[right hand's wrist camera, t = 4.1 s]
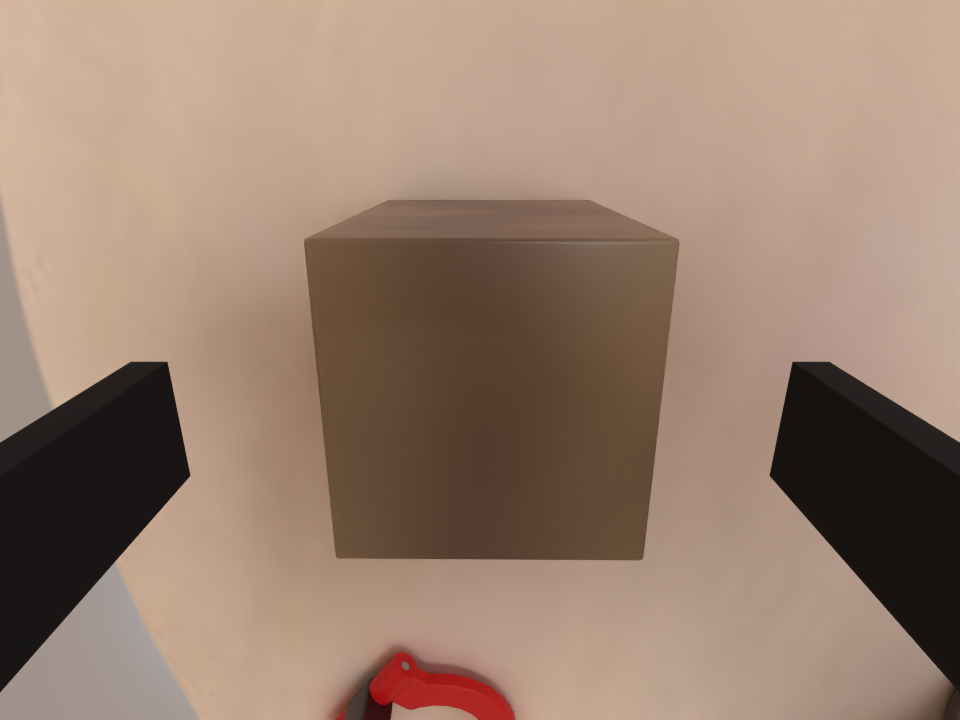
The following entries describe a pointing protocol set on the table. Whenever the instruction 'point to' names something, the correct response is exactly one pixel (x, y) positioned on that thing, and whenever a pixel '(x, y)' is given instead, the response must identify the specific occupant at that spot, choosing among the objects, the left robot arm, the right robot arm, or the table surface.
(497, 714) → the tow hook
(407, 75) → the table surface
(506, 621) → the table surface
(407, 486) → the block
